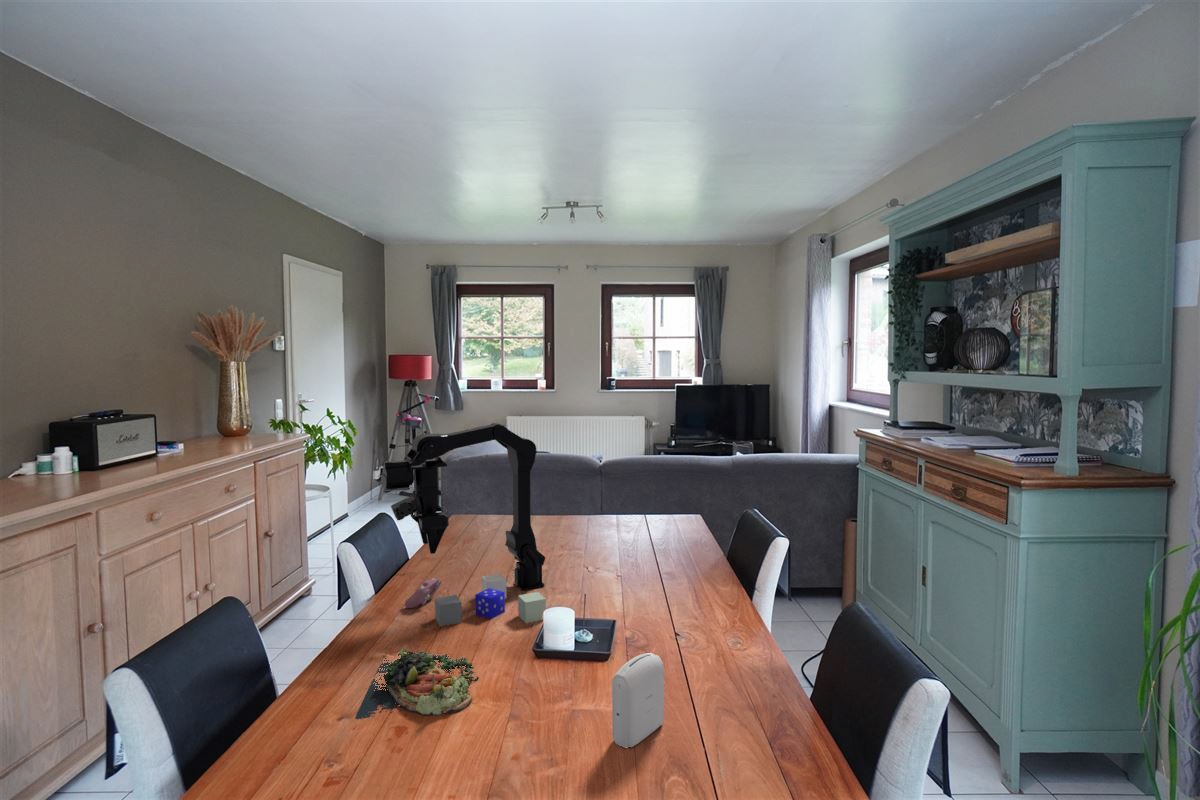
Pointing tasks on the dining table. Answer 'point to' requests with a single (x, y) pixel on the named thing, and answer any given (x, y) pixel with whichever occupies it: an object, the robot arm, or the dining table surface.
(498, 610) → the die
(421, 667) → the plated dish
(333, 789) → the dining table surface
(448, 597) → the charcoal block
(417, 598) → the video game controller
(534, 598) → the sage green block
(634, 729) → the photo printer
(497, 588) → the off-white block
